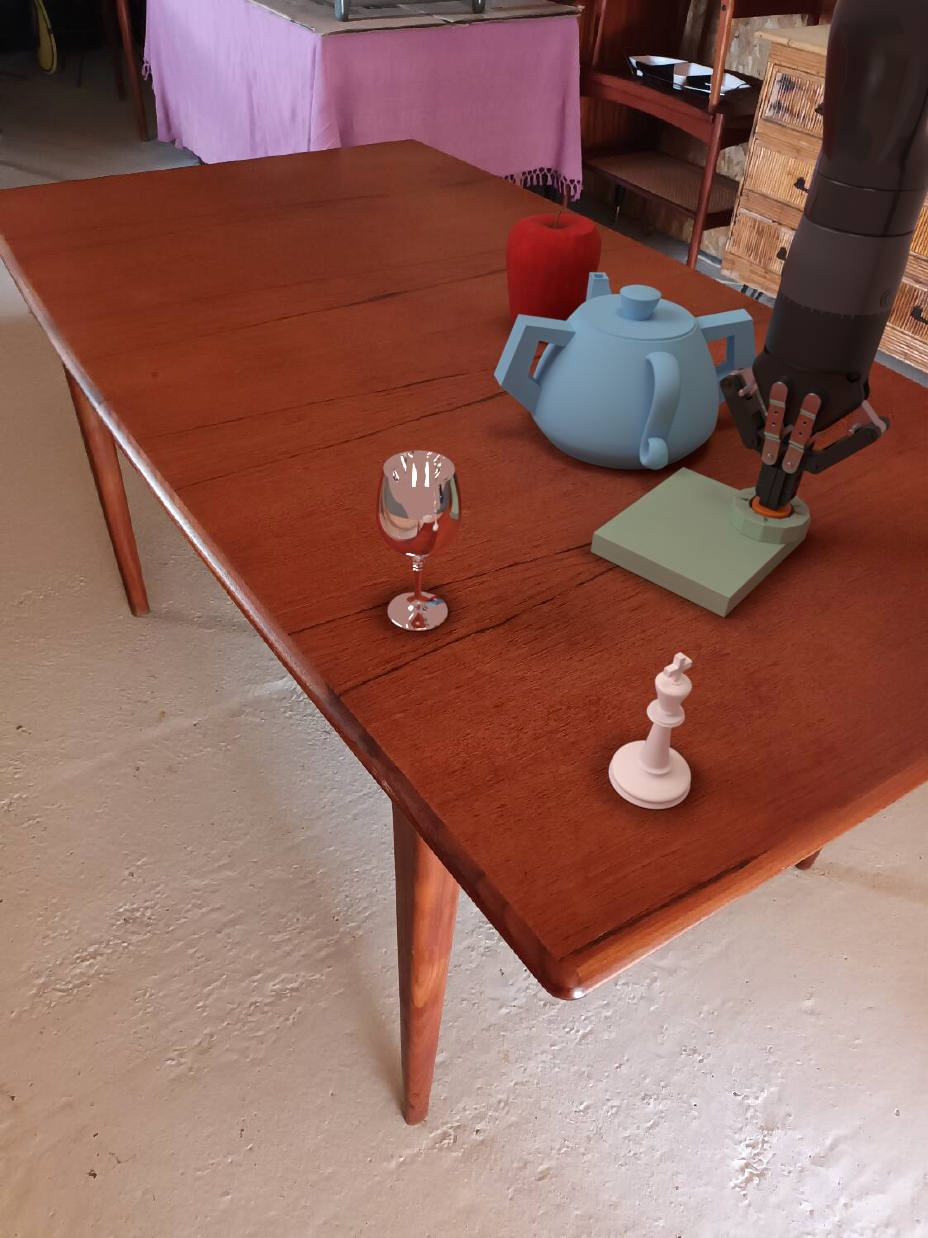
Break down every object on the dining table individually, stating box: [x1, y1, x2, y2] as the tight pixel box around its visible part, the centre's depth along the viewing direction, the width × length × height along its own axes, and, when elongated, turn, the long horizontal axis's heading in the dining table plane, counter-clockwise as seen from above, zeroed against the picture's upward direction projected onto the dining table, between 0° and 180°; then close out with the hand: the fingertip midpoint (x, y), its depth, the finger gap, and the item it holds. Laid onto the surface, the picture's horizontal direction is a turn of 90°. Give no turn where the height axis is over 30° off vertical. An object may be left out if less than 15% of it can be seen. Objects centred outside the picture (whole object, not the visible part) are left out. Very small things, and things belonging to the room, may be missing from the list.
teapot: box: [493, 271, 757, 471], centre depth 85 cm, size 19×19×14 cm
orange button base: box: [590, 466, 812, 618], centre depth 74 cm, size 12×14×4 cm
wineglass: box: [375, 449, 463, 632], centre depth 63 cm, size 6×6×12 cm
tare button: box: [751, 497, 791, 519], centre depth 74 cm, size 3×3×2 cm
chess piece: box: [608, 651, 693, 810], centre depth 53 cm, size 5×5×10 cm
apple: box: [505, 208, 603, 323], centre depth 103 cm, size 11×10×14 cm
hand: (771, 503), depth 74 cm, fingers closed
